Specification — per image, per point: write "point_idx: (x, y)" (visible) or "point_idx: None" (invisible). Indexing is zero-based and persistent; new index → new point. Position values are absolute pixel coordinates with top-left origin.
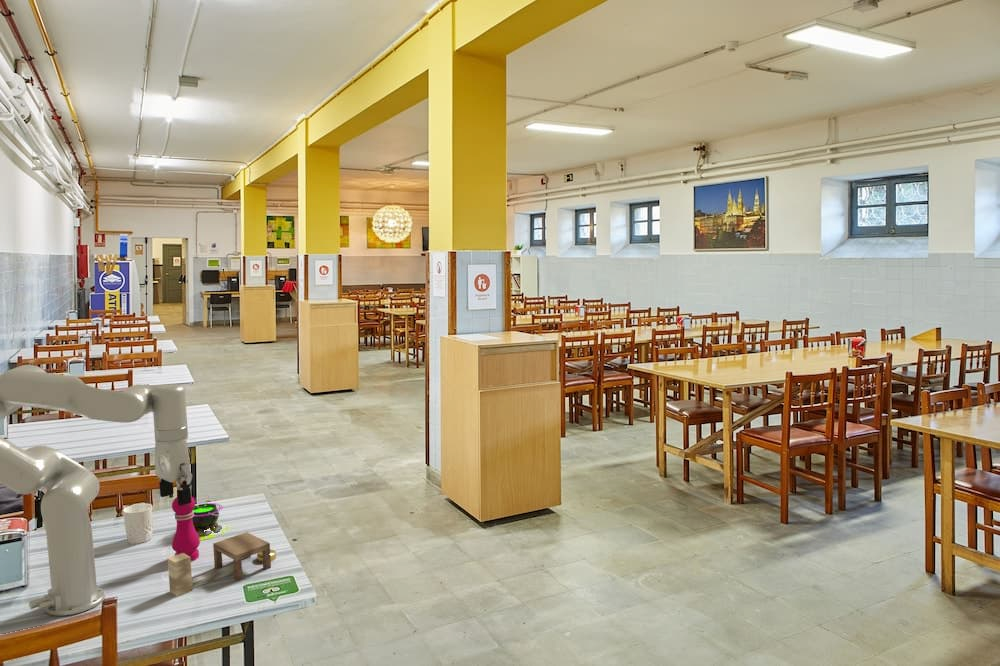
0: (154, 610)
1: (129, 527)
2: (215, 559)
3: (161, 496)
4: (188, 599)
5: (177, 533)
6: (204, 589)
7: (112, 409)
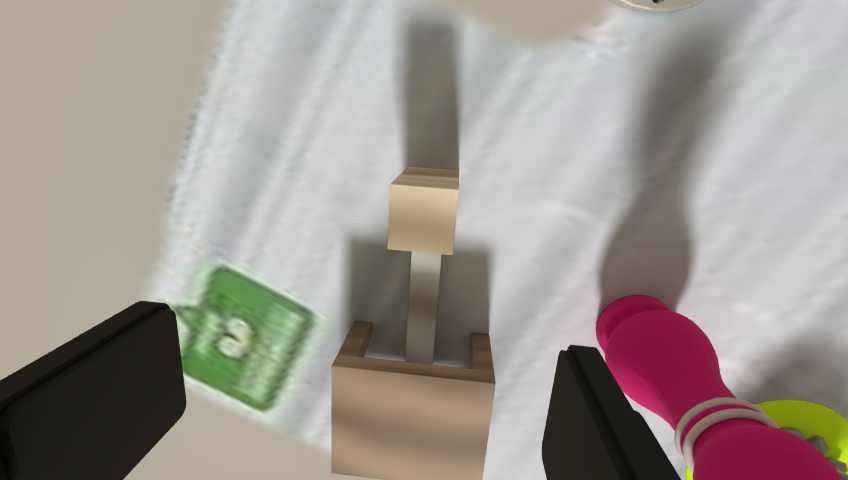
0: (377, 72)
1: None
2: (481, 349)
3: (569, 347)
4: (360, 176)
5: (686, 357)
6: (381, 239)
7: None
